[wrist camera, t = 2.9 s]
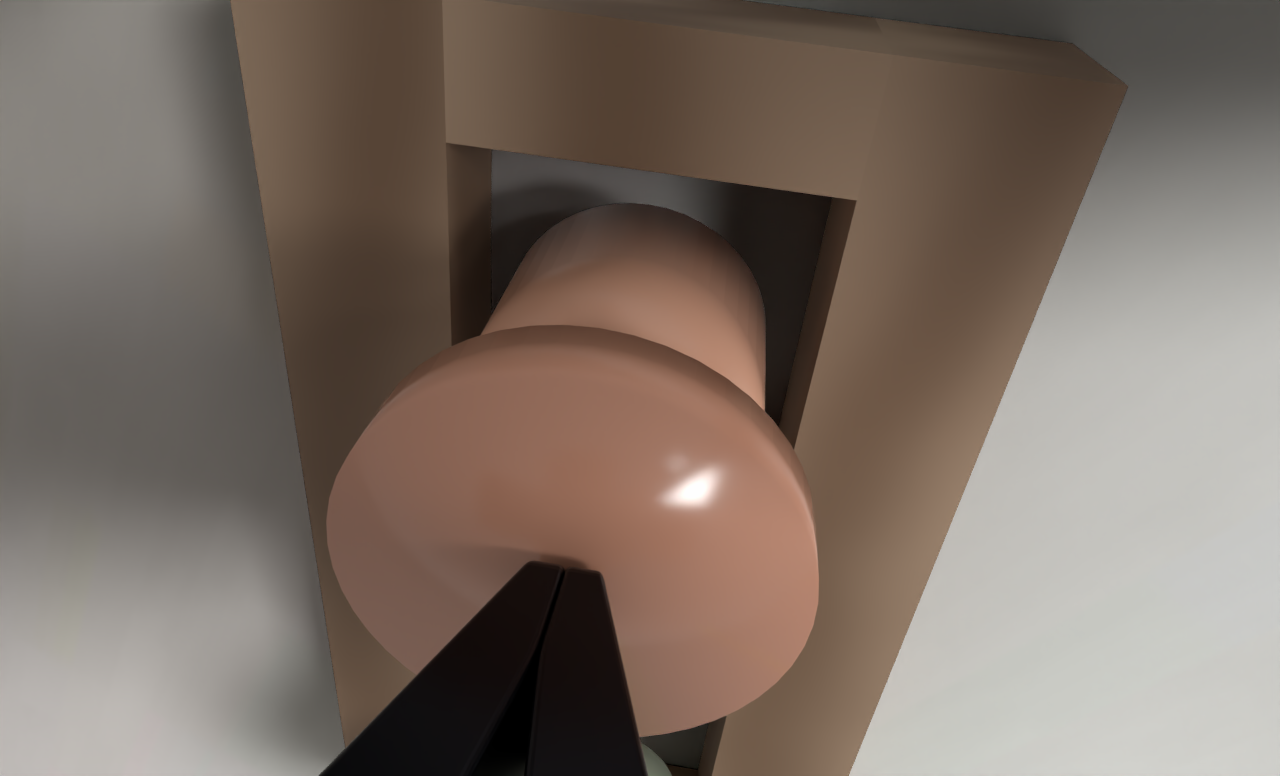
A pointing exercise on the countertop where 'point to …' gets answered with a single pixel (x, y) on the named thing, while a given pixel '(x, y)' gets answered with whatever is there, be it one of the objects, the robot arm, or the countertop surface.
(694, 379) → the terracotta plunger
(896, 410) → the panel
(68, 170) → the countertop surface
